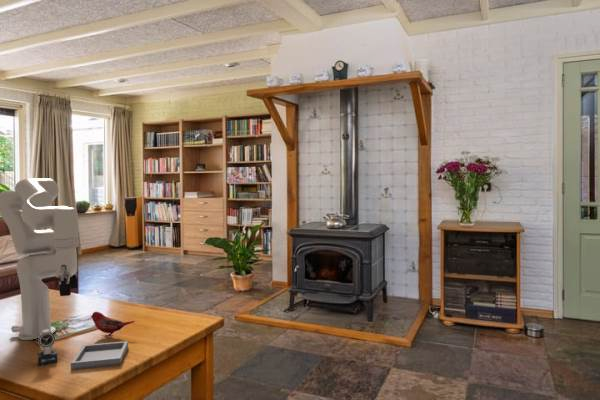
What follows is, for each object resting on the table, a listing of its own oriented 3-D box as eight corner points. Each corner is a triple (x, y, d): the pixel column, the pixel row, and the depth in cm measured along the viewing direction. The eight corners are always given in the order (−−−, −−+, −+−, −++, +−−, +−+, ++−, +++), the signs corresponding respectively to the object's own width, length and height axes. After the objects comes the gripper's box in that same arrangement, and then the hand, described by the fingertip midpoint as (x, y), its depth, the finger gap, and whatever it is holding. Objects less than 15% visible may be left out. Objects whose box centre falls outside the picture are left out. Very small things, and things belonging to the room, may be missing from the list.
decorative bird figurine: (92, 335, 170) (91, 310, 170) (137, 335, 170) (136, 310, 169) (88, 338, 167) (87, 312, 167) (134, 338, 167) (133, 312, 166)
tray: (71, 370, 140) (70, 363, 140) (83, 351, 155) (83, 345, 155) (120, 365, 143) (120, 358, 143) (128, 347, 158) (128, 341, 158)
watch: (38, 368, 142) (36, 336, 141) (37, 360, 148) (36, 328, 148) (58, 364, 145) (56, 332, 144) (56, 356, 151) (55, 325, 151)
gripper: (61, 240, 158) (63, 286, 159) (46, 247, 141) (49, 299, 142) (83, 239, 160) (86, 285, 161) (72, 246, 143) (74, 297, 144)
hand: (69, 291), depth 151 cm, fingers open, 9 cm apart
